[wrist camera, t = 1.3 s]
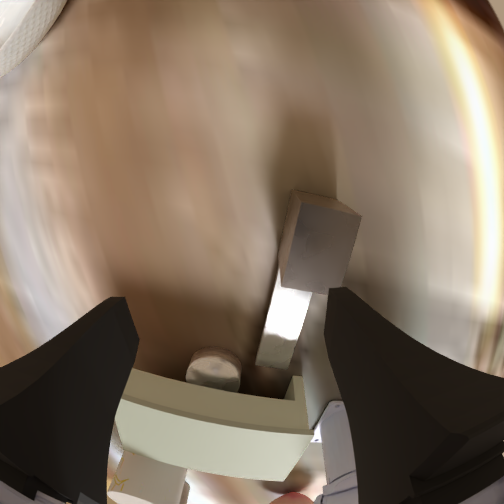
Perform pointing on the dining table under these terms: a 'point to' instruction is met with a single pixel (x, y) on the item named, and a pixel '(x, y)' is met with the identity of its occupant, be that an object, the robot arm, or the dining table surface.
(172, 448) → the pale green rectangular block
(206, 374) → the token
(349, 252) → the dark grey long block
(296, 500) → the decorative fruit
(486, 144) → the dining table surface
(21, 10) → the cereal bowl
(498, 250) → the dining table surface
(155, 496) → the beige cylinder
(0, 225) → the dining table surface
